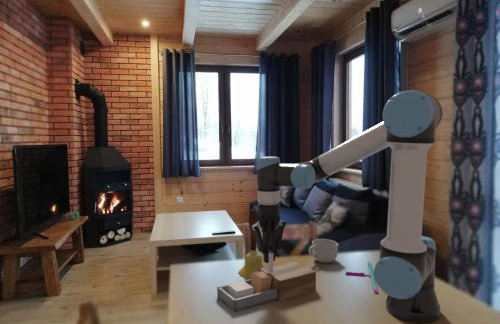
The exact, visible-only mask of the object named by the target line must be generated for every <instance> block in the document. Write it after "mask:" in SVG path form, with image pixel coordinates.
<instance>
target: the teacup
mask: <svg viewBox="0 0 500 324" xmlns="http://www.w3.org/2000/svg"><path fill="white" fill-rule="evenodd" d="M311 243H312V244H311V245H310V246H309V248H308V254H309V255H310V256H312V257H313V258H314V260H315V261H317V262H319V263H322V264H330V263H333V262H334V261H335V260H336V259H337V257H338V251H339V243H338V242H336V241H335V240H333V239H327V238H317V239H314V240H312V241H311Z"/></svg>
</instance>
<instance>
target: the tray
mask: <svg viewBox="0 0 500 324" xmlns="http://www.w3.org/2000/svg"><path fill="white" fill-rule="evenodd" d="M251 280H252V279H246V280H240V281H237V282H232V283H229V284H224V285H221V286H216V291H217V299H219V300H220V301H221V302H223V303H224V305H226V306H227V307H228V308H230V309H231V311H233V312H234V313H235V312H239V311H243V310H245V309H250V308H252V307H253V308H254V307H257V306H259V305H263V304H267V303H271V302H273V301H277V300H278V299H277V289H276V288H275V289H271V290H268V291H264V292H260V293H257V294H256V293H255V292H253V295H249V296H245V297H242V298H238V299H234V298H233V297H232V296H231V295H229V291H228V285H231V284H235V283H239V282H243V281H245V282H246V283H248V284H249V285H251Z"/></svg>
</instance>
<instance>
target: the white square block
mask: <svg viewBox="0 0 500 324" xmlns="http://www.w3.org/2000/svg"><path fill="white" fill-rule="evenodd" d="M242 281H243V282H240V281H238V282H239V283H236V282H234V283H235V284H232V283H230V284H231V285H228V284H227V285H228V291H229V295H231V296H232V297H233V298H234V299H238V298H242V297H245V296H249V295H253V287H252V286H251V285H249V284H248V283H246V282H245V281H244V280H242Z"/></svg>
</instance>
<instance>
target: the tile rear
mask: <svg viewBox="0 0 500 324" xmlns="http://www.w3.org/2000/svg"><path fill="white" fill-rule="evenodd" d="M271 280H272V277H271V276H269V275H268V274H266V273H264V272H262V271H260V272H252V280H251V286H252V287H253V292H255V293H256V294H257V293H260V292H264V291H268V290H270V289H271Z"/></svg>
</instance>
